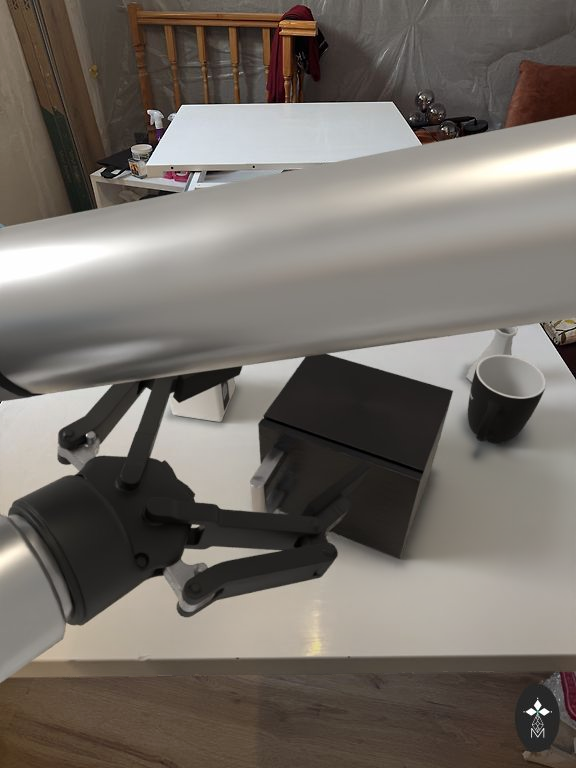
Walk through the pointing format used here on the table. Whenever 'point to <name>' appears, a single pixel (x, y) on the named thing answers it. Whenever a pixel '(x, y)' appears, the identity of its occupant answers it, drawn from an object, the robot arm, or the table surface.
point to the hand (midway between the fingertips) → (297, 413)
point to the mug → (503, 397)
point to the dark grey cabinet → (365, 412)
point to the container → (206, 403)
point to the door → (322, 469)
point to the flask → (496, 347)
